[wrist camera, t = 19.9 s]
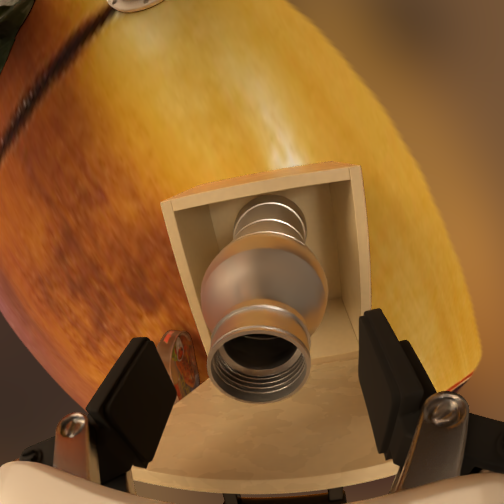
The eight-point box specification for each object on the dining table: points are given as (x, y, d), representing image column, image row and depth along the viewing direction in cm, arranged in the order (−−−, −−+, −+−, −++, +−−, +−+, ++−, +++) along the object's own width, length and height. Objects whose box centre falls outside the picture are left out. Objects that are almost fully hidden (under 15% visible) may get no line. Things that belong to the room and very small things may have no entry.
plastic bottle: (317, 218, 27) (392, 352, 9) (274, 268, 30) (268, 441, 11) (265, 176, 26) (241, 238, 8) (223, 230, 29) (138, 371, 10)
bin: (198, 185, 33) (159, 202, 22) (332, 160, 31) (361, 165, 20) (230, 316, 39) (214, 375, 28) (347, 298, 37) (370, 355, 25)
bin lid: (96, 458, 9) (129, 531, 8) (470, 432, 7) (450, 516, 6) (212, 374, 27) (220, 420, 26) (371, 354, 25) (374, 403, 24)
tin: (202, 390, 45) (191, 427, 37) (184, 388, 45) (171, 424, 37) (188, 319, 40) (170, 355, 32) (168, 317, 40) (147, 352, 32)
